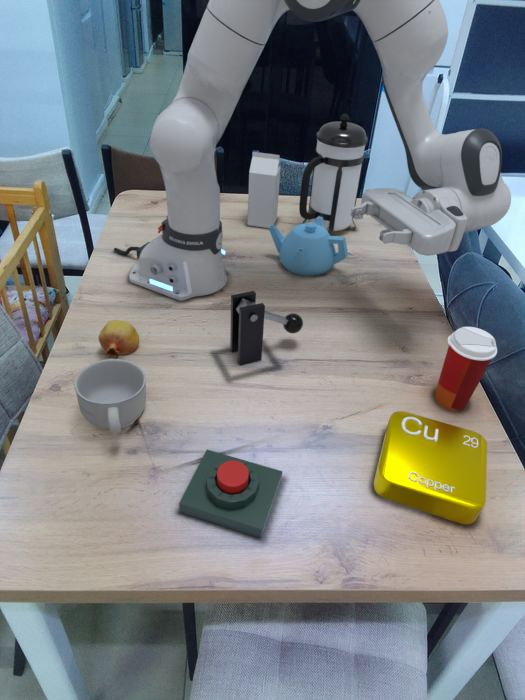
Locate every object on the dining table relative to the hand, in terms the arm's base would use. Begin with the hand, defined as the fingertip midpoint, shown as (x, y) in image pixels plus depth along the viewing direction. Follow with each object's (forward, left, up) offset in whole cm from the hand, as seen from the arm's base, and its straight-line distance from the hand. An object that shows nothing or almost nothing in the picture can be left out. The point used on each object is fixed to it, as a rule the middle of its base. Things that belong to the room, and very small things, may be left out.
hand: (366, 225), depth 88 cm
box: (-9, -43, -25) cm, 51 cm away
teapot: (-15, +26, -25) cm, 39 cm away
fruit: (-40, -20, -25) cm, 51 cm away
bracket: (-17, -14, -25) cm, 33 cm away
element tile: (+18, -29, -25) cm, 43 cm away
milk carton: (-32, +44, -25) cm, 59 cm away
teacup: (-32, -36, -25) cm, 54 cm away
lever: (-14, -12, -17) cm, 25 cm away
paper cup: (+21, -11, -25) cm, 35 cm away
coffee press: (-14, +47, -25) cm, 55 cm away
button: (-9, -43, -21) cm, 49 cm away
